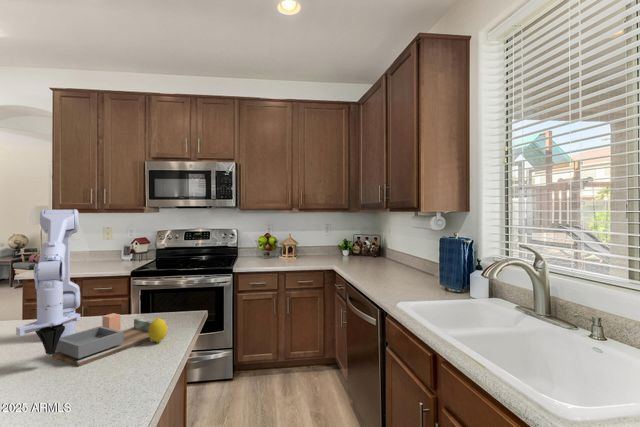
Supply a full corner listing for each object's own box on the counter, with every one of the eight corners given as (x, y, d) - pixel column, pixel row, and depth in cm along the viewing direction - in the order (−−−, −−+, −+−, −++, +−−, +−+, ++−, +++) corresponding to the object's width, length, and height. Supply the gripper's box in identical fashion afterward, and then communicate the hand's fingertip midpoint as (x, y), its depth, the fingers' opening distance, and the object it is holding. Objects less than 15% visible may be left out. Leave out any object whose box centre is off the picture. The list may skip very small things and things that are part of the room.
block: (102, 332, 123) (102, 316, 123) (113, 329, 126) (113, 313, 126) (109, 334, 121) (109, 317, 121) (120, 331, 124) (120, 314, 124)
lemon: (160, 346, 110) (159, 321, 110) (144, 345, 111) (144, 320, 111) (170, 340, 116) (170, 316, 116) (156, 338, 117) (156, 315, 117)
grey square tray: (55, 353, 102) (55, 338, 102) (100, 338, 114) (100, 326, 114) (78, 361, 97) (78, 346, 97) (123, 345, 108) (123, 331, 108)
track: (51, 356, 102) (51, 343, 102) (137, 329, 126) (137, 318, 126) (78, 366, 96) (78, 352, 96) (163, 335, 120) (163, 324, 120)
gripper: (25, 313, 88) (25, 366, 88) (86, 300, 101) (86, 346, 101) (12, 309, 91) (12, 361, 91) (72, 297, 104) (73, 342, 104)
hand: (50, 353), depth 96 cm, fingers closed
